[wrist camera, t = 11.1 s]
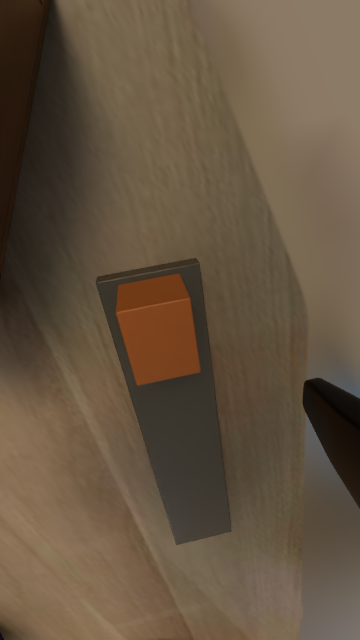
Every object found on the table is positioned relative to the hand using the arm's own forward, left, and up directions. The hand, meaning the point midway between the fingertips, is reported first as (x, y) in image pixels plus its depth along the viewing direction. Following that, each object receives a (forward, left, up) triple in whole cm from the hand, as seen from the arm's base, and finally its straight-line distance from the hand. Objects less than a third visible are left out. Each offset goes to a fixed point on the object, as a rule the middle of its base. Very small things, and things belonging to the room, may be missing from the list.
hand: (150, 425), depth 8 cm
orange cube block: (-1, +2, -10) cm, 11 cm away
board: (-5, +13, -11) cm, 18 cm away
